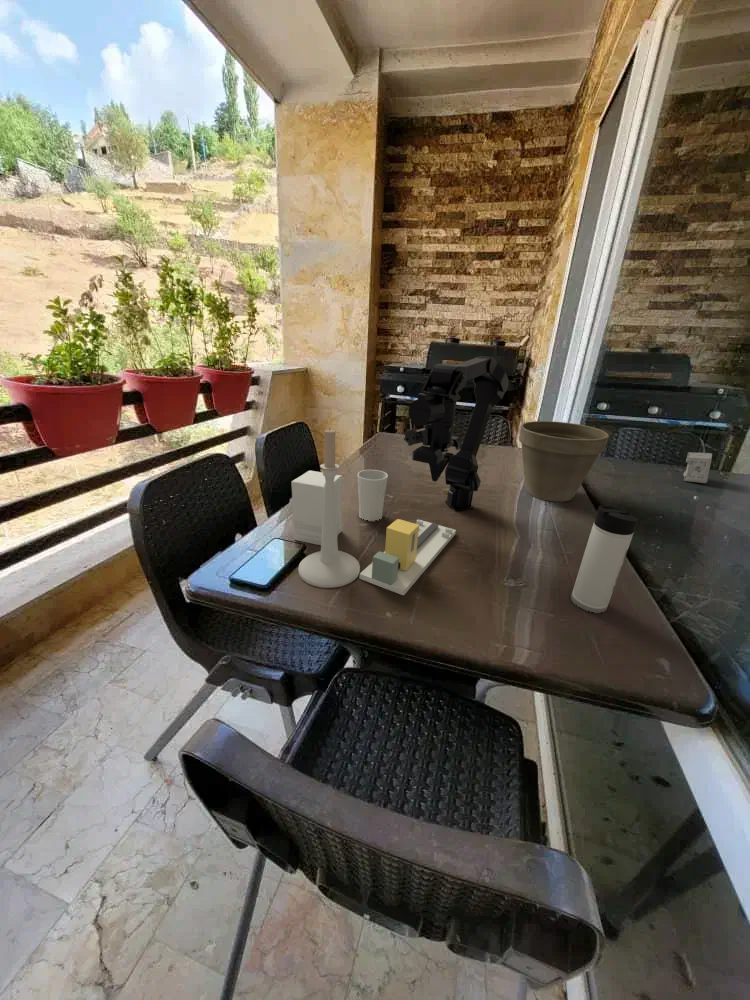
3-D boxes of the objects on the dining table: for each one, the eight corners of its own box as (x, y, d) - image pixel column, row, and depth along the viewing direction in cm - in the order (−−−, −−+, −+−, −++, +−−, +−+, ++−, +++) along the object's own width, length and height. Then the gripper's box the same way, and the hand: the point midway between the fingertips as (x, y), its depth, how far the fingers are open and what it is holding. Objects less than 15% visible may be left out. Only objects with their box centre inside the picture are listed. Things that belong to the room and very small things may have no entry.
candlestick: (335, 595, 74) (336, 441, 62) (285, 573, 80) (277, 428, 68) (371, 565, 84) (378, 428, 72) (324, 547, 90) (324, 417, 78)
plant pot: (505, 499, 122) (518, 431, 113) (511, 475, 143) (522, 416, 134) (593, 515, 114) (615, 443, 105) (585, 488, 135) (603, 426, 126)
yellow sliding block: (394, 553, 86) (397, 518, 83) (415, 560, 84) (419, 525, 80) (383, 563, 82) (386, 527, 78) (405, 571, 80) (409, 534, 76)
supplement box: (342, 531, 97) (344, 474, 91) (327, 547, 90) (327, 487, 84) (310, 524, 100) (309, 469, 94) (292, 539, 92) (290, 480, 86)
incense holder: (679, 474, 155) (689, 449, 151) (705, 479, 150) (716, 454, 146) (677, 480, 148) (688, 454, 143) (705, 486, 143) (716, 459, 139)
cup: (382, 524, 102) (384, 481, 97) (352, 520, 103) (354, 477, 98) (387, 511, 109) (390, 471, 104) (359, 508, 110) (361, 468, 106)
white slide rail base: (419, 523, 103) (421, 502, 101) (455, 534, 99) (458, 512, 96) (359, 578, 79) (360, 552, 76) (403, 595, 75) (406, 568, 72)
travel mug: (562, 593, 78) (589, 502, 70) (593, 592, 78) (623, 502, 70) (580, 614, 72) (611, 517, 64) (613, 613, 73) (648, 517, 65)
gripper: (426, 410, 104) (420, 465, 110) (394, 421, 89) (389, 484, 95) (466, 416, 99) (458, 473, 105) (440, 428, 84) (432, 495, 90)
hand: (434, 481), depth 99 cm, fingers closed
